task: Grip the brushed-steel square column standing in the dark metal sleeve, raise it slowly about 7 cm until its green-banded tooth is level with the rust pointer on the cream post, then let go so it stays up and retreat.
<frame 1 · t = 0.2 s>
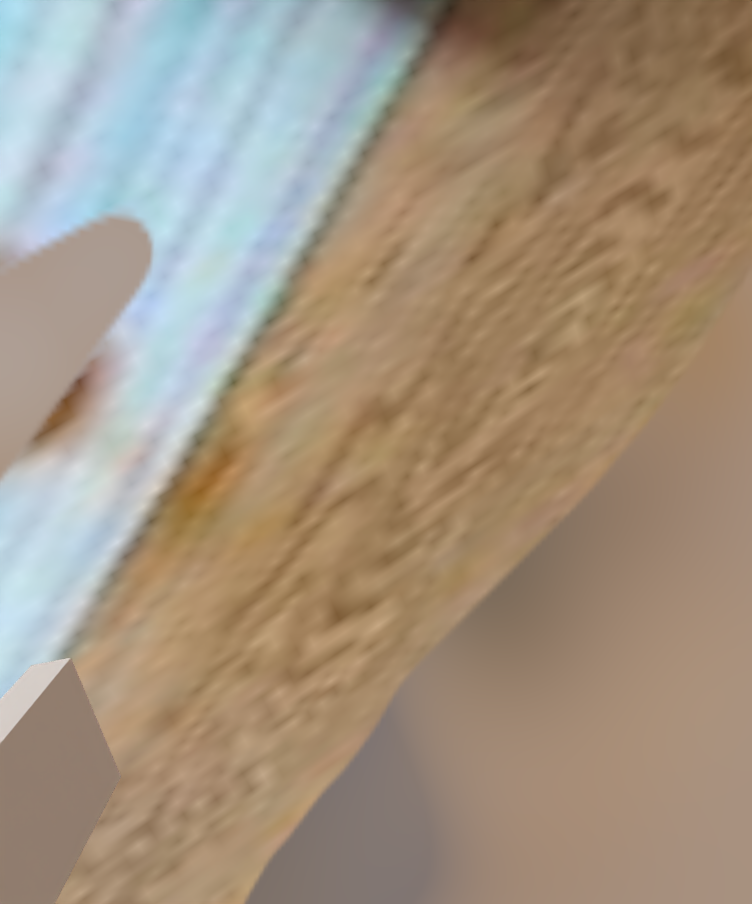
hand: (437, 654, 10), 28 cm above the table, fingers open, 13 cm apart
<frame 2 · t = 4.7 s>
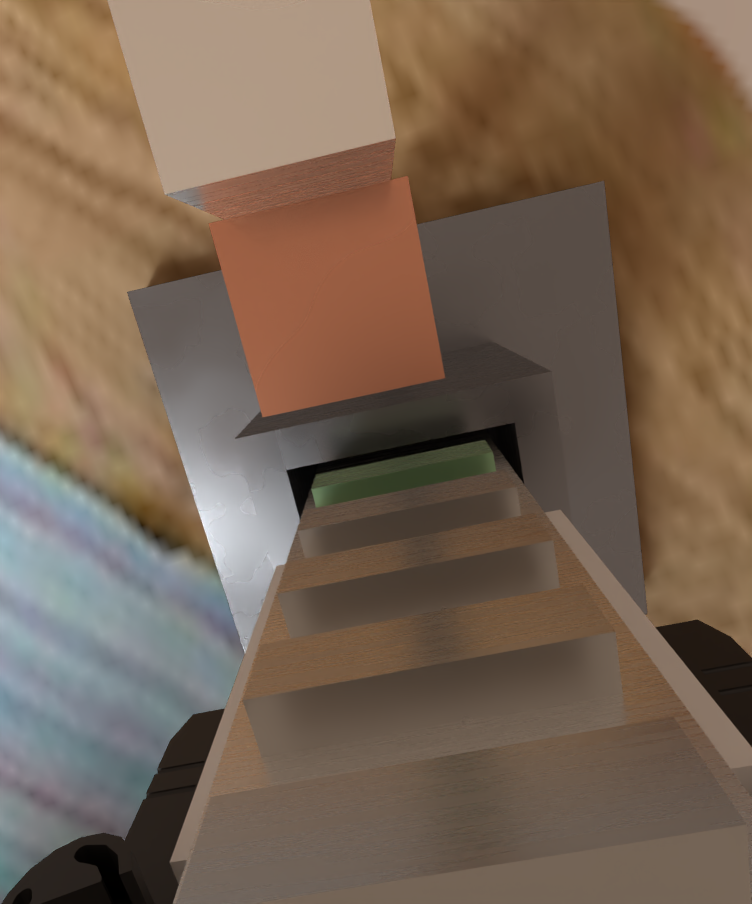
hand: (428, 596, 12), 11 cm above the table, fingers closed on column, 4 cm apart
stand base: (405, 454, 23), on the table
column: (430, 610, 11), point 12 cm above the table, slide at 0.0 cm, touching gripper
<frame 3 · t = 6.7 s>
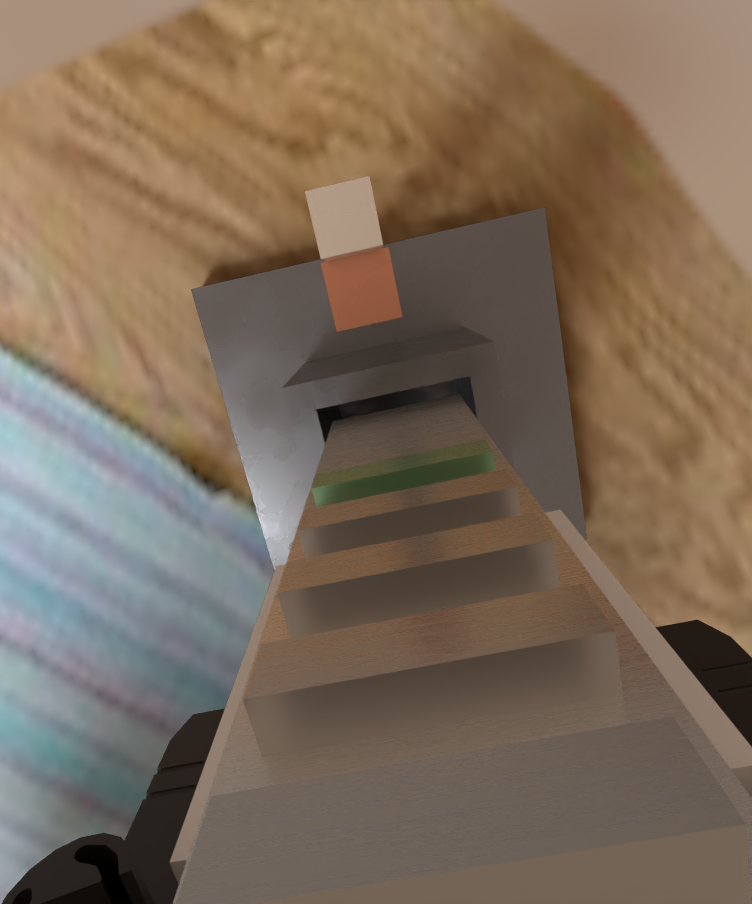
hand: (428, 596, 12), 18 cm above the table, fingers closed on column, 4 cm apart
stand base: (399, 415, 29), on the table
column: (430, 609, 11), point 19 cm above the table, slide at 6.9 cm, touching gripper
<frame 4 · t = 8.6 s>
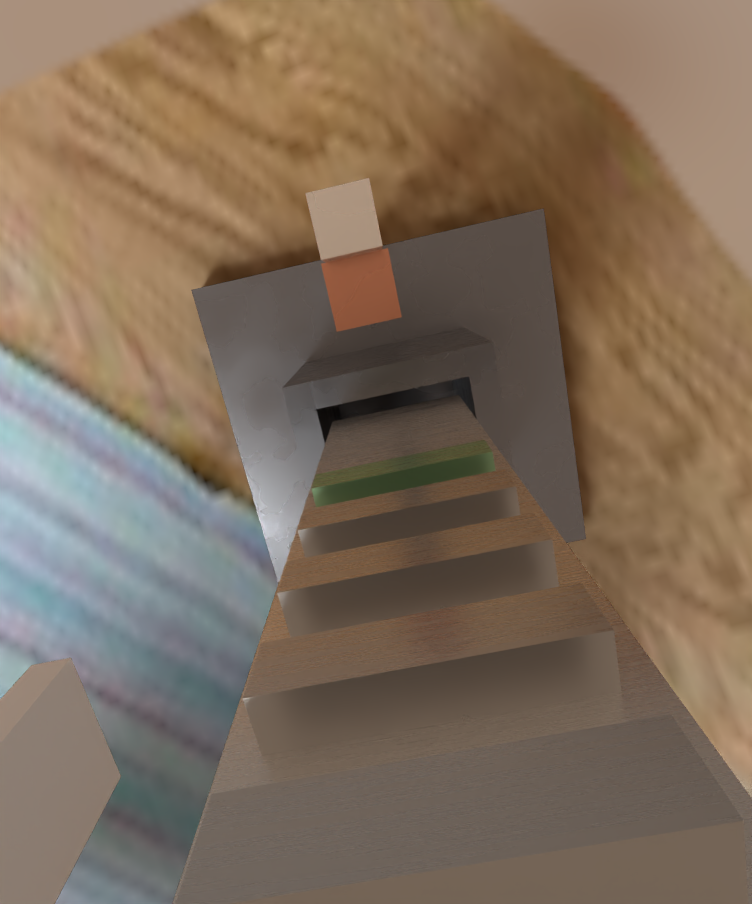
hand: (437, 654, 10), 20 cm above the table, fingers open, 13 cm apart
stand base: (399, 415, 29), on the table
column: (429, 609, 11), point 19 cm above the table, slide at 7.0 cm
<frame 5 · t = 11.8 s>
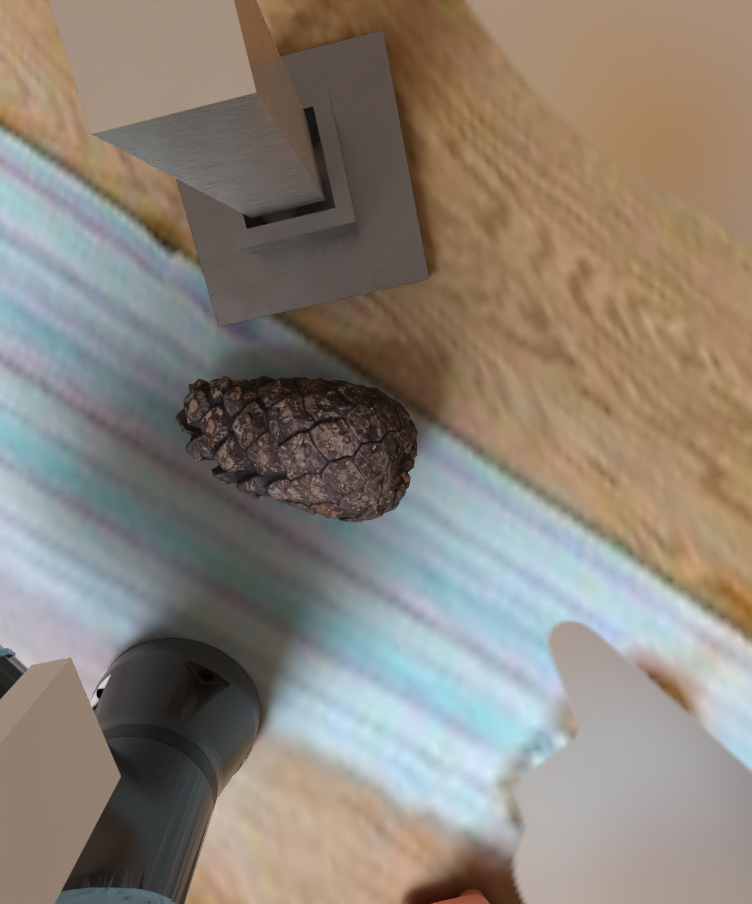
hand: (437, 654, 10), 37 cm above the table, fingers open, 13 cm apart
stand base: (298, 191, 42), on the table
pine cone: (304, 431, 47), on the table
column: (235, 112, 24), point 19 cm above the table, slide at 7.0 cm
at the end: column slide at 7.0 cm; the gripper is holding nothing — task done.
